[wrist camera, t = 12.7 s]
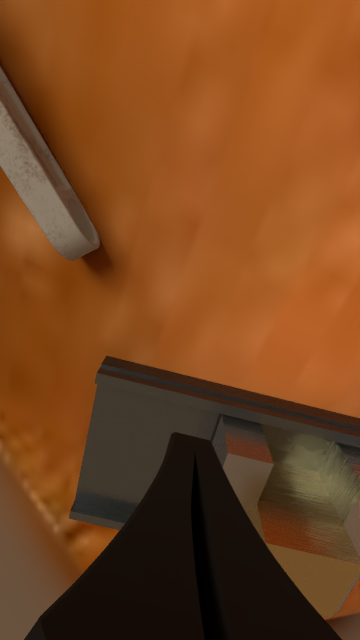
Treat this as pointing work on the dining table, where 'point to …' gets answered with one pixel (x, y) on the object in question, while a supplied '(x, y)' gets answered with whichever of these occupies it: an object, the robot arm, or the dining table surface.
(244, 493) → the bar
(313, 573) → the brass block
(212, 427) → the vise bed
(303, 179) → the dining table surface
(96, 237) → the wrench
